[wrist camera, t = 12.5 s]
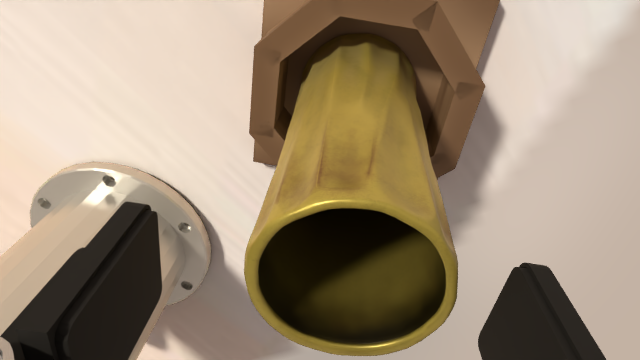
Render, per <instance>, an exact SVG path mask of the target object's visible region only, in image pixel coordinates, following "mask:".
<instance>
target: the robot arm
mask: <svg viewBox="0 0 640 360" xmlns="http://www.w3.org/2000/svg"><path fill="white" fill-rule="evenodd" d="M30 223H31V227H32V229H31V230H29V231H28V232H27V233H26V234H25V235H24V236H23V237H22V238H21V239H19V240H18V241H17V242H16V243H15V244H14V245H13V246H12V247H11V248H9V249H8V250H7V251H6V252H5V253H4V254H3V255H2V256H1V257H0V360H137V358H138V356H139V354H140V352H141V351H142V349H143V347H144V345H145V343H146V341H147V339H148V337H149V335H150V334H151V332H152V330H153V328H154V326H155V324H156V322H157V320H158V318H159V317H160V315H161V313H162V311H163V309H164V307H165V306H168V305H172V304H175V303H177V302H180V301H182V300H184V299H186V298H187V297H189V296H190V295H191V294H193V293H194V292H195V291H196V290H197V288H198V287H199V286H200V285H201V283H202V281H203V279H204V277H205V275H206V273H207V271H208V268H209V264H210V260H211V245H210V241H209V237H208V233H207V231H206V229H205V227H204V225H203V223H202V221H201V219H200V218H199V216H198V215H197V213H196V212H195V211H194V209H193V208H192V206H191V205H190V204H189V203H188V202H187V201H186V200H185V199H184V198H183V197H182V196H181V195H180V194H178V193H177V192H176V191H174V190H173V189H172V188H170V187H169V186H168V185H166V184H165V183H164V182H162V181H160V180H158V179H156V178H154V177H153V176H151V175H149V174H147V173H144V172H142V171H139V170H136V169H134V168H131V167H128V166H123V165H118V164H114V163H104V162H89V163H82V164H76V165H73V166H70V167H68V168H65V169H62V170H61V171H59V172H58V173H57V174H55V175H54V176H52V177H51V178H50V179H48V180H47V181H46V182H45V183H44V184H43V185H42V186H41V187H40V188H39V189H38V190H37V192H36V194H35V195H34V197H33V200H32V204H31V209H30ZM478 347H479V351H480V353H481V357H482V360H606V358H605V357H604V355H603V353H602V352H601V350H600V349H599V347H598V345H597V344H596V342H595V341H594V339H593V337H592V336H591V334H590V332H589V331H588V329H587V328H586V326H585V324H584V323H583V321H582V320H581V318H580V316H579V315H578V313H577V311H576V310H575V308H574V307H573V305H572V303H571V302H570V300H569V298H568V297H567V295H566V294H565V292H564V290H563V289H562V287H561V286H560V284H559V282H558V281H557V279H556V277H555V276H554V274H553V273H552V271H551V270H550V268H548V267H547V266H543V265H537V264H531V263H522V264H521V265H520V267H515V268H514V269H513V270H512V271H511V274H510V275H509V278H508V279H507V281H506V283H505V285H504V287H503V289H502V291H501V293H500V295H499V297H498V299H497V301H496V303H495V305H494V307H493V309H492V311H491V313H490V315H489V317H488V319H487V321H486V323H485V325H484V326H483V329H482V330H481V332H480V335H479V339H478Z"/></svg>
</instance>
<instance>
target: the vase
mask: <svg viewBox="0 0 640 360" xmlns="http://www.w3.org/2000/svg"><path fill="white" fill-rule="evenodd" d="M416 96H417V93H416V79H415V73H414V70H413V67H412V65H411V63H410V61H409V59H408V58H407V57H406V55H405V54H404V53H403V51H402V50H401V49H400V48H399V47H397V46H396V45H395V44H393V43H392V42H390V41H388V40H386V39H384V38H382V37H380V36H377V35H373V34H365V33H361V34H347V35H341V36H339V37H336V38H334V39H332V40H331V41H329V42H327V43H325V44H324V45H322V46H321V47H320V48H319V49H318V50H317V51H316V52H315V53H314V54H313V56H312V57H311V58H310V60H309V61H308V63H307V65H306V67H305V68H304V71H303V73H302V78H301V87H300V91H299V94H298V98H297V101H296V105H295V109H294V113H293V116H292V119H291V123H290V125H289V128H288V131H287V135H286V139H285V143H284V146H283V149H282V151H281V155H280V158H279V161H278V164H277V167H276V170H275V173H274V175H273V178H272V180H271V183H270V186H269V188H268V191H267V194H266V197H265V200H264V202H263V205H262V208H261V211H260V214H259V217H258V219H257V222H256V225H255V227H254V230H253V232H252V234H251V237H250V239H249V242H248V245H247V248H246V253H245V265H244V275H245V280H246V285H247V290H248V293H249V295H250V298H251V301H252V303H253V304H254V306H255V308H256V309H257V311H258V312H259V313H260V315H261V316H262V317H263V318H264V319H265V321H266V322H267V323H268V324H269V325H270V326H272V327H273V328H274V329H275V330H277V331H278V332H279V333H280V334H282V335H283V336H285V337H286V338H288V339H289V340H291V341H293V342H296V343H298V344H300V345H303V346H306V347H309V348H312V349H315V350H319V351H323V352H326V353H330V354H336V355H350V356H377V355H384V354H389V353H393V352H397V351H400V350H403V349H407V348H409V347H411V346H413V345H414V344H416V343H418V342H420V341H422V340H423V339H424V338H426V337H427V336H429V335H430V334H431V333H433V332H434V331H435V330H437V329H438V328H439V327H440V326H441V325H442V324H443V323H444V322H445V320H446V319H447V318H448V316H449V315H450V313H451V311H452V309H453V307H454V304H455V302H456V298H457V283H458V261H457V255H456V252H455V248H454V245H453V241H452V237H451V233H450V229H449V225H448V221H447V216H446V213H445V209H444V205H443V201H442V197H441V193H440V190H439V186H438V182H437V179H436V176H435V173H434V170H433V167H432V164H431V160H430V156H429V150H428V144H427V139H426V134H425V130H424V126H423V121H422V116H421V112H420V109H419V106H418V103H417V100H416Z"/></svg>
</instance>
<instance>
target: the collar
mask: <svg viewBox="0 0 640 360" xmlns="http://www.w3.org/2000/svg"><path fill="white" fill-rule="evenodd" d="M499 1H500V0H264V8H263V23H262V38H261V40H260V41H259V42H258V43H257V44H256V45H255V46H254V61H253V78H252V95H251V112H250V129H249V134H250V135H251V136H252V137H253V138H254V139H255V143H254V158H253V161H254V162H259V163H265V164H271V165H277V164H278V161H279V158H280V155H281V151H282V149H283V146H284V143H285V139H286V135H287V131H288V128H289V125H290V123H291V119H292V116H293V113H294V109H295V105H296V101H297V98H298V94H299V91H300V87H301V78H302V73H303V71H304V68H305V67H306V65H307V63H308V61H309V60H310V58H311V57H312V56H313V54H314V53H315V52H316V51H317V50H318V49H319V48H320V47H321V46H322V45H324V44H325V43H327V42H329V41H331V40H332V39H334V38H336V37H339V36H341V35H347V34H361V33H365V34H373V35H377V36H380V37H382V38H384V39H386V40H388V41H390V42H392V43H393V44H395V45H396V46H397V47H399V48H400V49H401V50H402V51H403V53H404V54H405V55H406V57H407V58H408V59H409V61H410V63H411V65H412V67H413V70H414V73H415V79H416V93H417V96H416V100H417V103H418V106H419V109H420V112H421V116H422V121H423V126H424V130H425V134H426V139H427V144H428V150H429V156H430V160H431V164H432V167H433V170H434V173H435V176H436V179H437V180H438V177H440V176H442V175H444V174H446V173H448V172H449V171H451V170H453V169H455V167H456V164H457V161H458V159H459V156H460V153H461V151H462V148H463V145H464V142H465V140H466V137H467V134H468V132H469V129H470V126H471V123H472V121H473V118H474V115H475V113H476V110H477V107H478V104H479V102H480V99H481V96H482V94H483V91H484V88H485V85H484V83H483V81H482V79H481V77H480V76H479V74H478V72H477V70H476V67H477V65H478V62H479V59H480V56H481V53H482V50H483V47H484V44H485V42H486V39H487V36H488V33H489V30H490V27H491V24H492V21H493V19H494V16H495V13H496V10H497V7H498V4H499Z"/></svg>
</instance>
